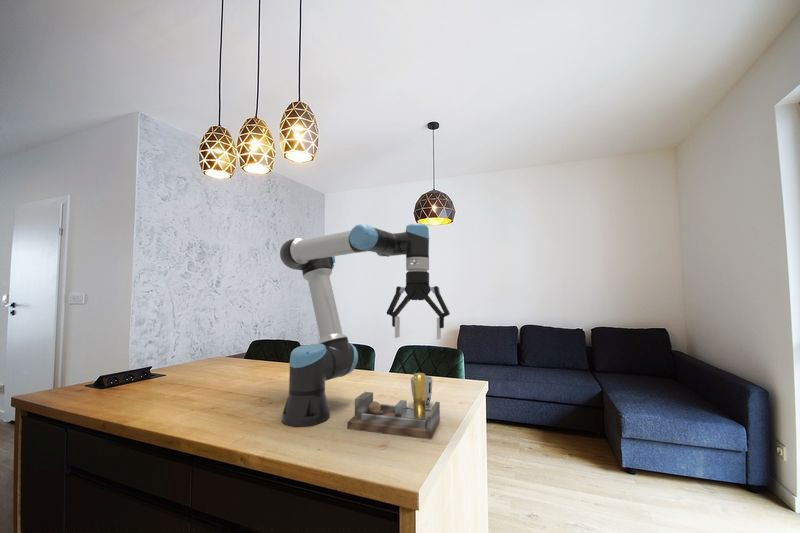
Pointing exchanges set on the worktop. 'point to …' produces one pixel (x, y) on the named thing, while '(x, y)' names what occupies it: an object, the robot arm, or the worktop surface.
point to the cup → (427, 389)
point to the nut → (374, 408)
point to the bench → (392, 419)
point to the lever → (418, 401)
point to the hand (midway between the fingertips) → (417, 338)
